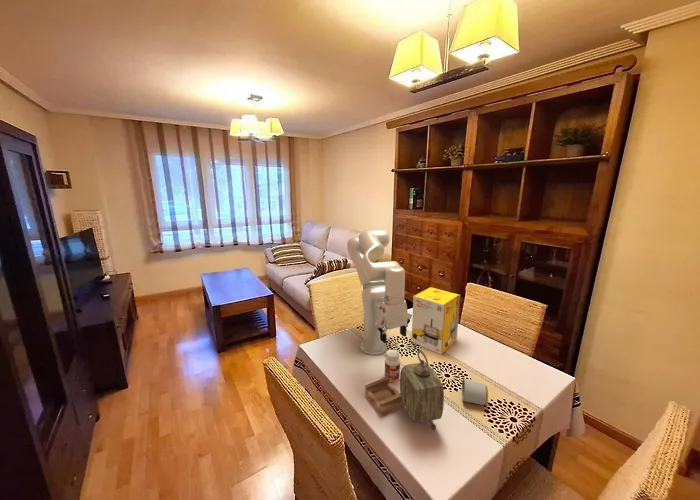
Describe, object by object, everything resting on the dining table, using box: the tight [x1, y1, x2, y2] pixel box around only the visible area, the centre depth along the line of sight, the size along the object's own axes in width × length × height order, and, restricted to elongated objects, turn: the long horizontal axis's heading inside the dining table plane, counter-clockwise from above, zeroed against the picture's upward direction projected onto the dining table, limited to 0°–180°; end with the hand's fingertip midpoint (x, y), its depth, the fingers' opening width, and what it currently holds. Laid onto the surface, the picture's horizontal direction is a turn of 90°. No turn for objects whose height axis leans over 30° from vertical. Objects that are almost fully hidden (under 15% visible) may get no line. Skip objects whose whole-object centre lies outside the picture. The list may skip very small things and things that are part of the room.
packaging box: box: [411, 286, 461, 355], centre depth 140 cm, size 16×16×25 cm
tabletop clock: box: [399, 349, 445, 431], centre depth 93 cm, size 14×9×25 cm, turn 12°
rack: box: [364, 376, 405, 417], centre depth 103 cm, size 11×10×5 cm
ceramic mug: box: [461, 378, 489, 406], centre depth 104 cm, size 11×8×8 cm
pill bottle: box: [384, 349, 401, 383], centre depth 115 cm, size 6×6×11 cm
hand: (393, 338), depth 112 cm, fingers open, 9 cm apart
